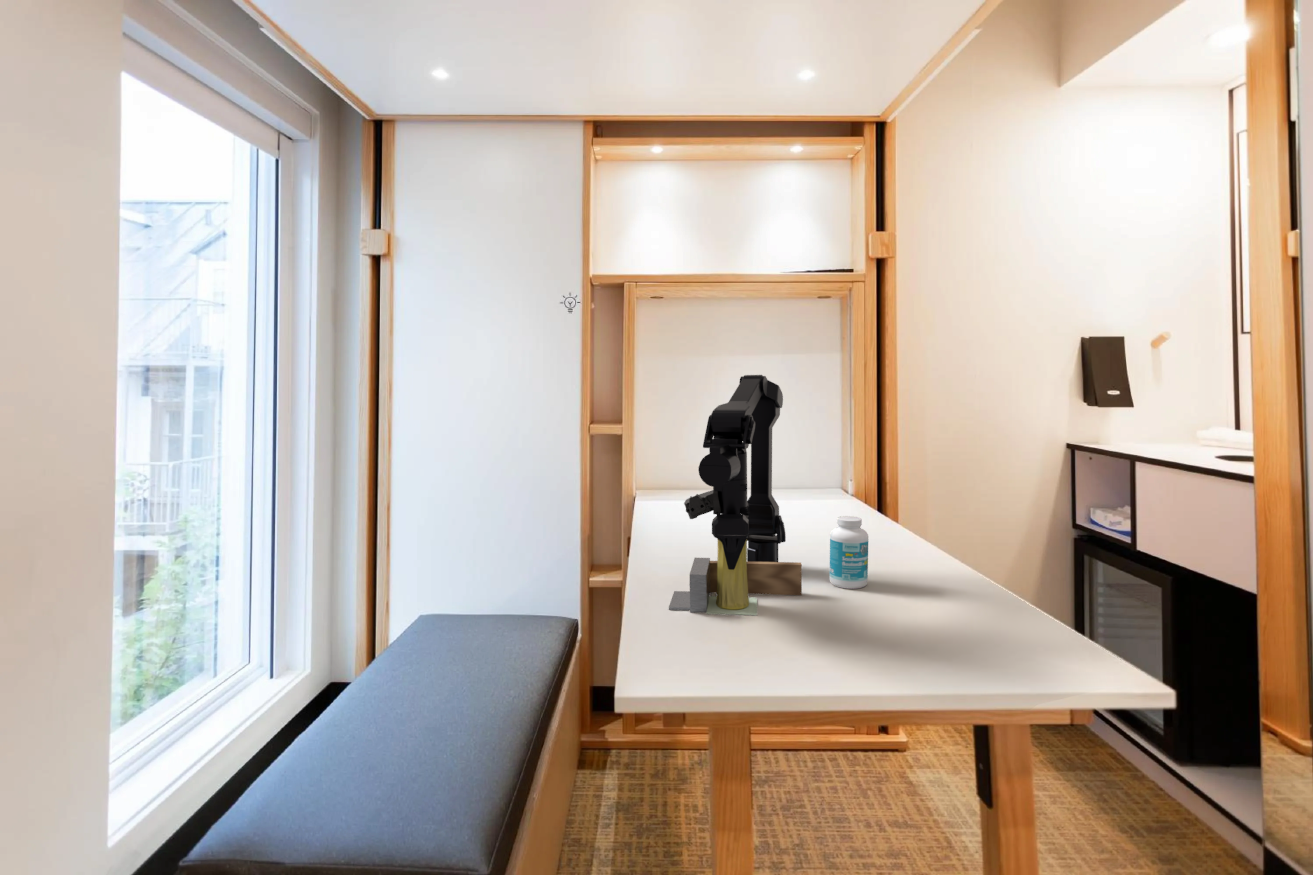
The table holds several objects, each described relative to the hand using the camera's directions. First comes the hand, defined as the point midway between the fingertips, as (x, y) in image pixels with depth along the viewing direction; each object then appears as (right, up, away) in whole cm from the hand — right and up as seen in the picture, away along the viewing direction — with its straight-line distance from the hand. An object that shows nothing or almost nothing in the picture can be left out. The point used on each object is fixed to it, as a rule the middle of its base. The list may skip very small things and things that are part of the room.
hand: (732, 561), depth 122 cm
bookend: (-8, -8, +3) cm, 12 cm away
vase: (0, -8, +1) cm, 8 cm away
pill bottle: (+25, -7, +12) cm, 28 cm away
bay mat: (0, -8, +1) cm, 8 cm away
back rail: (+4, -8, +8) cm, 12 cm away
